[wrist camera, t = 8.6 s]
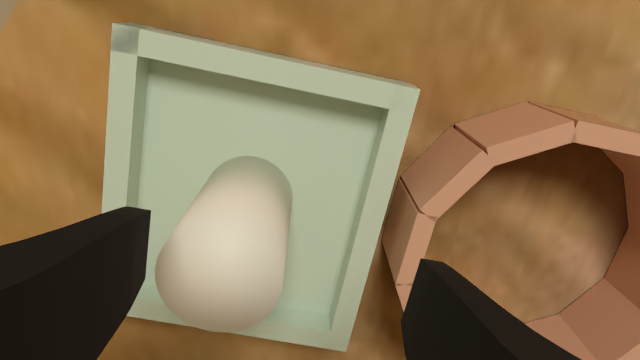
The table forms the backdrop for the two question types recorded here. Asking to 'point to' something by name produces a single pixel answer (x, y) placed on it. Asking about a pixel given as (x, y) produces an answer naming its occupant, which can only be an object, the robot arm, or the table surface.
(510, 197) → the table surface
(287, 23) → the table surface
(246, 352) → the table surface
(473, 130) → the segmented salmon ring
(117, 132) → the tray
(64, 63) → the table surface
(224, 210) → the peg
